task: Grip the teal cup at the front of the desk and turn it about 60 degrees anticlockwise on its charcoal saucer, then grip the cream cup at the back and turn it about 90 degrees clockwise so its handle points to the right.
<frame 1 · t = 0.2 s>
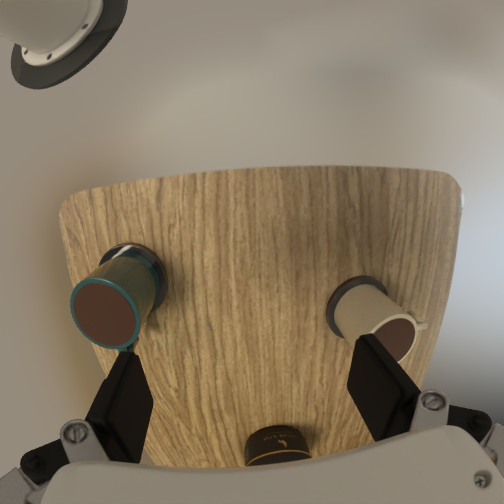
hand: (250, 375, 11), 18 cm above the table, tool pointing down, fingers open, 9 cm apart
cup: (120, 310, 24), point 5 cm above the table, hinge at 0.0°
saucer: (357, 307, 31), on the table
jar: (274, 440, 37), on the table
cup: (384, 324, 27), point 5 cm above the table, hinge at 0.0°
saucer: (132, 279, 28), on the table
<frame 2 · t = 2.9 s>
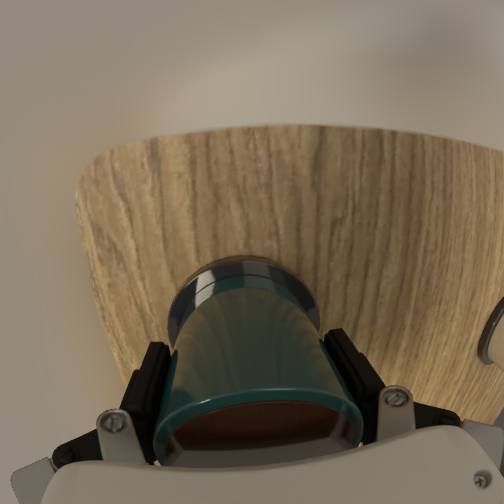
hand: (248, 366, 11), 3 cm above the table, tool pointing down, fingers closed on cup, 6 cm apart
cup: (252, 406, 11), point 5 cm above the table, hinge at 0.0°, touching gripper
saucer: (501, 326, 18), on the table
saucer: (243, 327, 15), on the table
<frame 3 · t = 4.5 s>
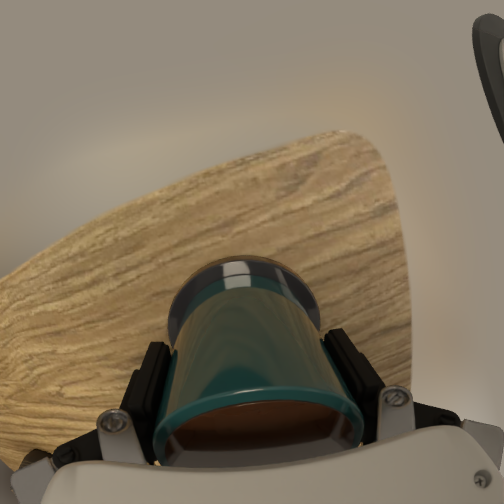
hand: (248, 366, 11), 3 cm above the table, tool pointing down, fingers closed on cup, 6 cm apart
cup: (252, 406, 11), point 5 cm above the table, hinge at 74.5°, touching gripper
jar: (61, 469, 19), on the table
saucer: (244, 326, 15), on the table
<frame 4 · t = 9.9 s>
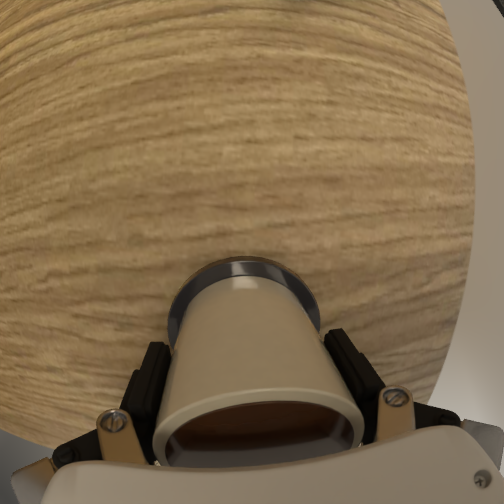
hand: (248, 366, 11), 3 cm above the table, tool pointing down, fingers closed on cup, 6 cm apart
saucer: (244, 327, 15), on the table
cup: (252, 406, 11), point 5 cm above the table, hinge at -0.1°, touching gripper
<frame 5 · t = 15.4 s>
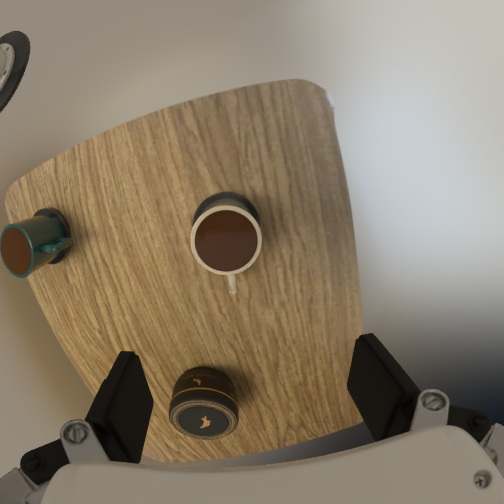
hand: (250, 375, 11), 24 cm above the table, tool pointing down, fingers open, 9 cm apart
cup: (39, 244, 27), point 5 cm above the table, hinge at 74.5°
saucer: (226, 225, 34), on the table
jar: (205, 386, 40), on the table
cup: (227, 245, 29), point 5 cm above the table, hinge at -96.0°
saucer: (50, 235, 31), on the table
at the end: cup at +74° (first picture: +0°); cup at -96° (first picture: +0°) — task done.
